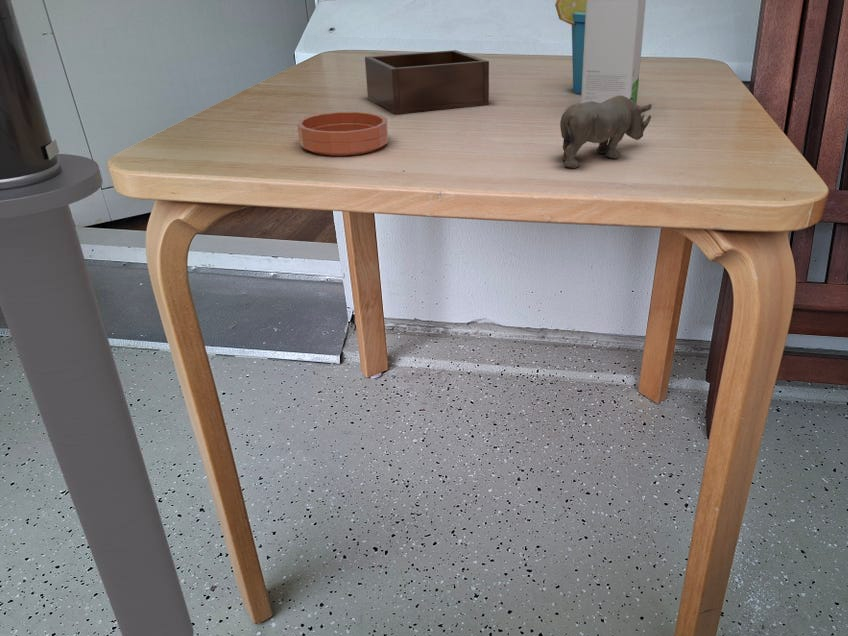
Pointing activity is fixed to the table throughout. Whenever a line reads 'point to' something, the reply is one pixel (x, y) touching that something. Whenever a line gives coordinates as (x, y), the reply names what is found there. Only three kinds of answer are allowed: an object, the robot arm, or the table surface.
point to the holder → (427, 81)
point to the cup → (575, 35)
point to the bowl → (343, 133)
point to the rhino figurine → (601, 126)
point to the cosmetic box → (612, 49)
